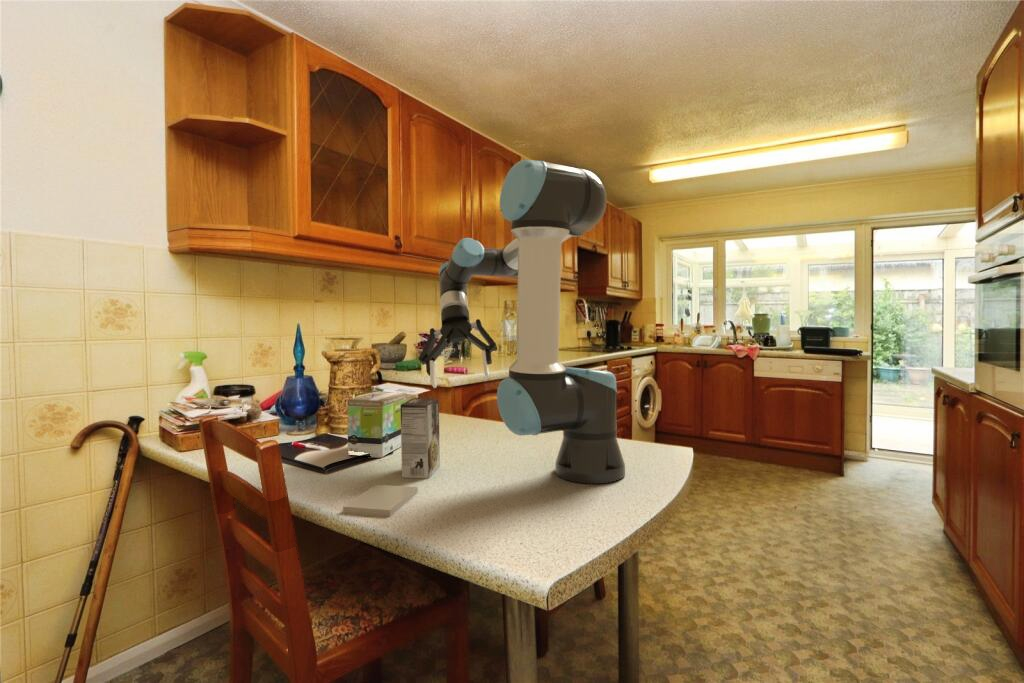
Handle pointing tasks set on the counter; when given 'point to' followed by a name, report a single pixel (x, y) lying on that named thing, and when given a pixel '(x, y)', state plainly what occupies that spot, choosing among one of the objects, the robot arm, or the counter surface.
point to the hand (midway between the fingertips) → (460, 380)
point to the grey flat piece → (381, 500)
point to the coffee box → (420, 437)
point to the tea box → (375, 423)
